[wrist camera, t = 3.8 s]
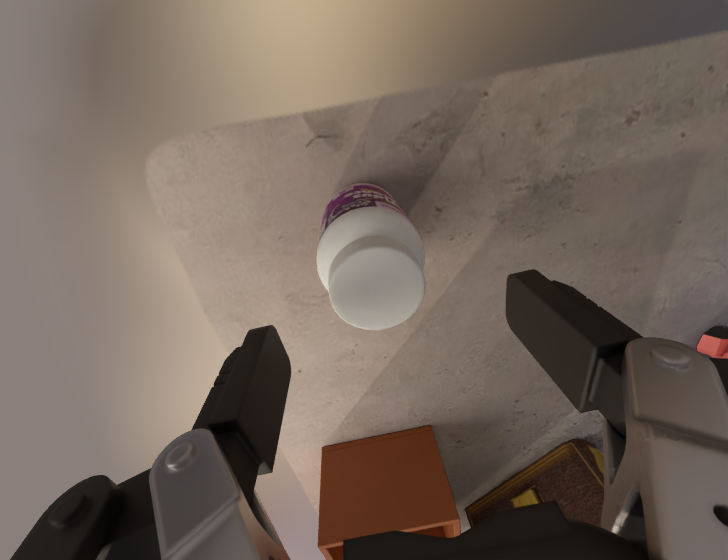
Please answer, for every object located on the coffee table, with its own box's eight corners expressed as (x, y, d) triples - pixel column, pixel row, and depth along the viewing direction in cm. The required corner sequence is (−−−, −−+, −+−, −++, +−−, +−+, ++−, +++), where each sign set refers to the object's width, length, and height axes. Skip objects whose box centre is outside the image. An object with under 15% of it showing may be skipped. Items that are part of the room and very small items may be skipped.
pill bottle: (402, 179, 19) (453, 227, 11) (397, 254, 22) (437, 340, 13) (319, 181, 19) (304, 231, 10) (324, 257, 21) (317, 347, 13)
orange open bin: (321, 447, 32) (317, 547, 25) (430, 424, 32) (459, 519, 24) (361, 530, 42) (366, 619, 35) (443, 514, 42) (467, 600, 35)
